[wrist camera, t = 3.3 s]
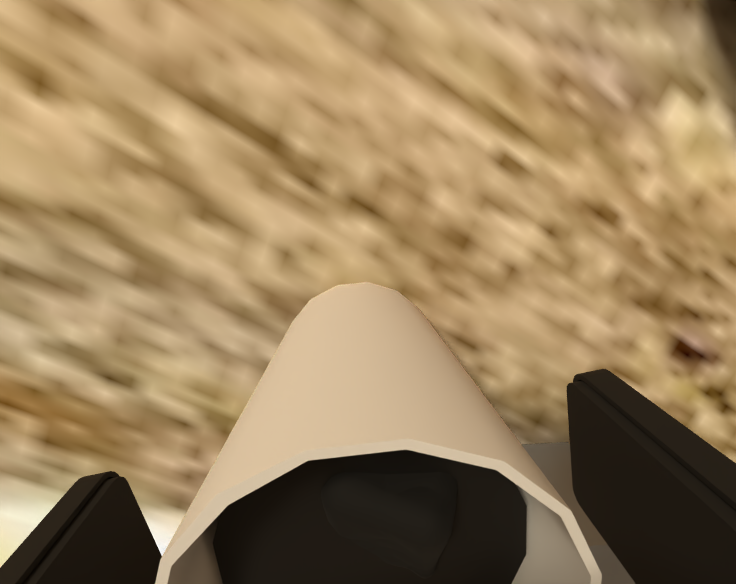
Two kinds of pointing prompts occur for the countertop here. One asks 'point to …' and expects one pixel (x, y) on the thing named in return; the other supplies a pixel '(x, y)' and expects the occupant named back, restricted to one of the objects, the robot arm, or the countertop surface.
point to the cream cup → (373, 468)
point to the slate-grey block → (577, 506)
